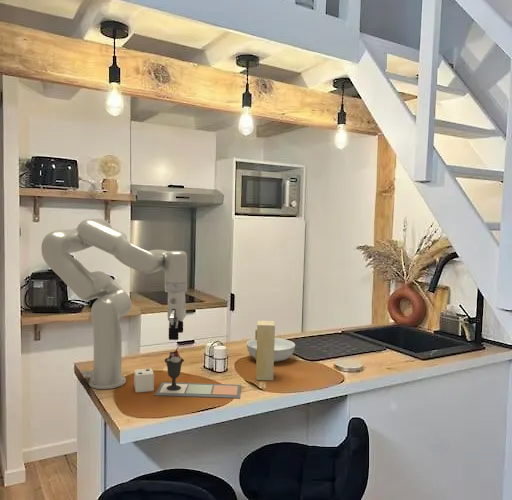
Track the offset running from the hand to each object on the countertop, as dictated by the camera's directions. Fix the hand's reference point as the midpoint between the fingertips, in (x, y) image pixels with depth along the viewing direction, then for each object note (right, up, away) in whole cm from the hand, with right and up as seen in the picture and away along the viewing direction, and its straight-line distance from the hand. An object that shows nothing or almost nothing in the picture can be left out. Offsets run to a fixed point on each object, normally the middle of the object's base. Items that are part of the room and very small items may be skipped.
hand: (176, 335), depth 166 cm
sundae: (-1, -19, +2) cm, 19 cm away
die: (-12, -19, +2) cm, 22 cm away
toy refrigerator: (+31, -19, +17) cm, 40 cm away
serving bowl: (+34, -17, +40) cm, 55 cm away
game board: (+8, -19, +2) cm, 21 cm away
